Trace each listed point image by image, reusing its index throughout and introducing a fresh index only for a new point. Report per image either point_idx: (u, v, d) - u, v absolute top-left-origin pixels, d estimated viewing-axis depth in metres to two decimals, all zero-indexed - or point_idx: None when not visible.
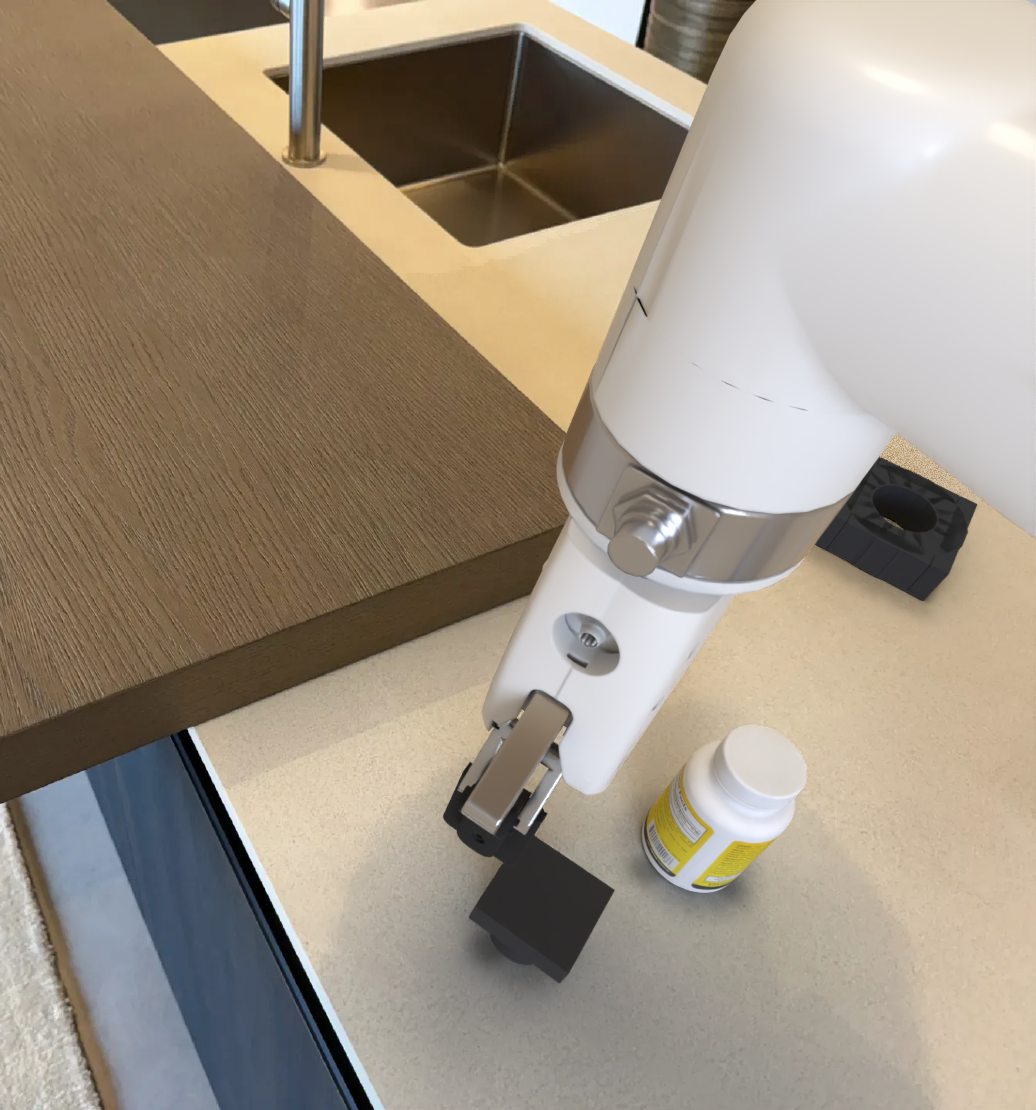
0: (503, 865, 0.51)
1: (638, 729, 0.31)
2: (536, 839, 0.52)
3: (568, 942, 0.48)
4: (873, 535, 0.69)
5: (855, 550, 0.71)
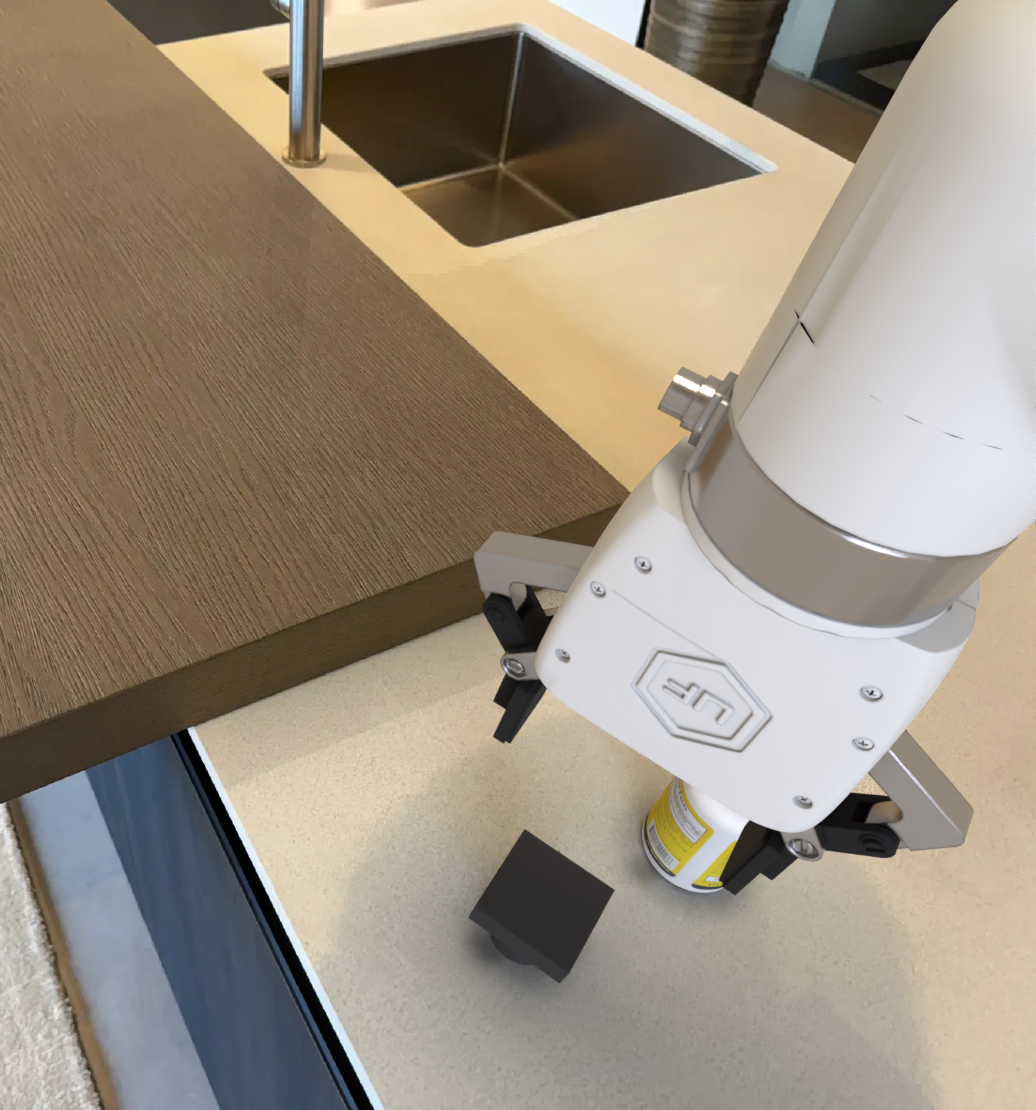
0: (503, 865, 0.51)
1: (575, 600, 0.33)
2: (536, 839, 0.52)
3: (568, 942, 0.48)
4: None
5: None
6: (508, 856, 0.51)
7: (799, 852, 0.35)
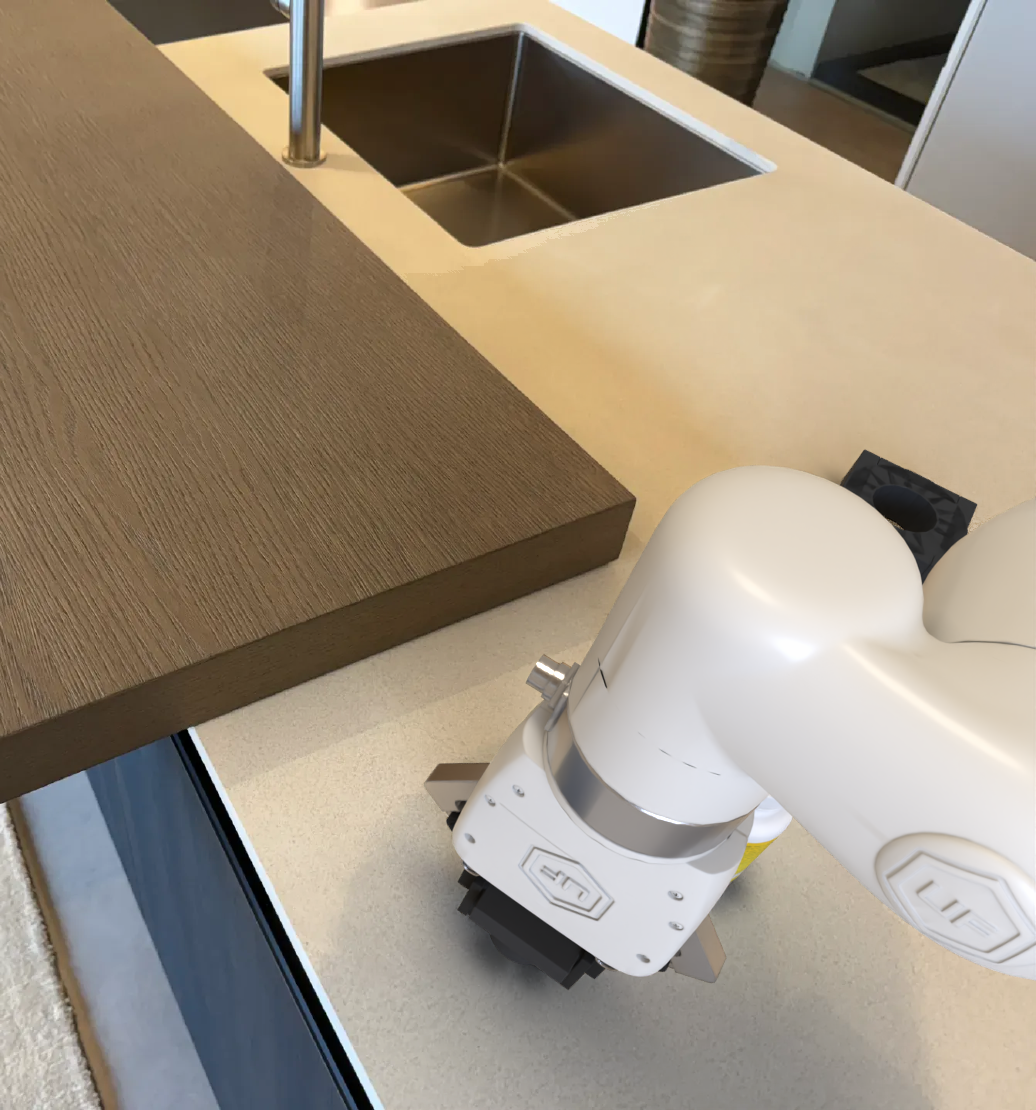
0: None
1: (475, 804, 0.44)
2: None
3: (568, 942, 0.48)
4: None
5: None
6: None
7: (605, 964, 0.48)
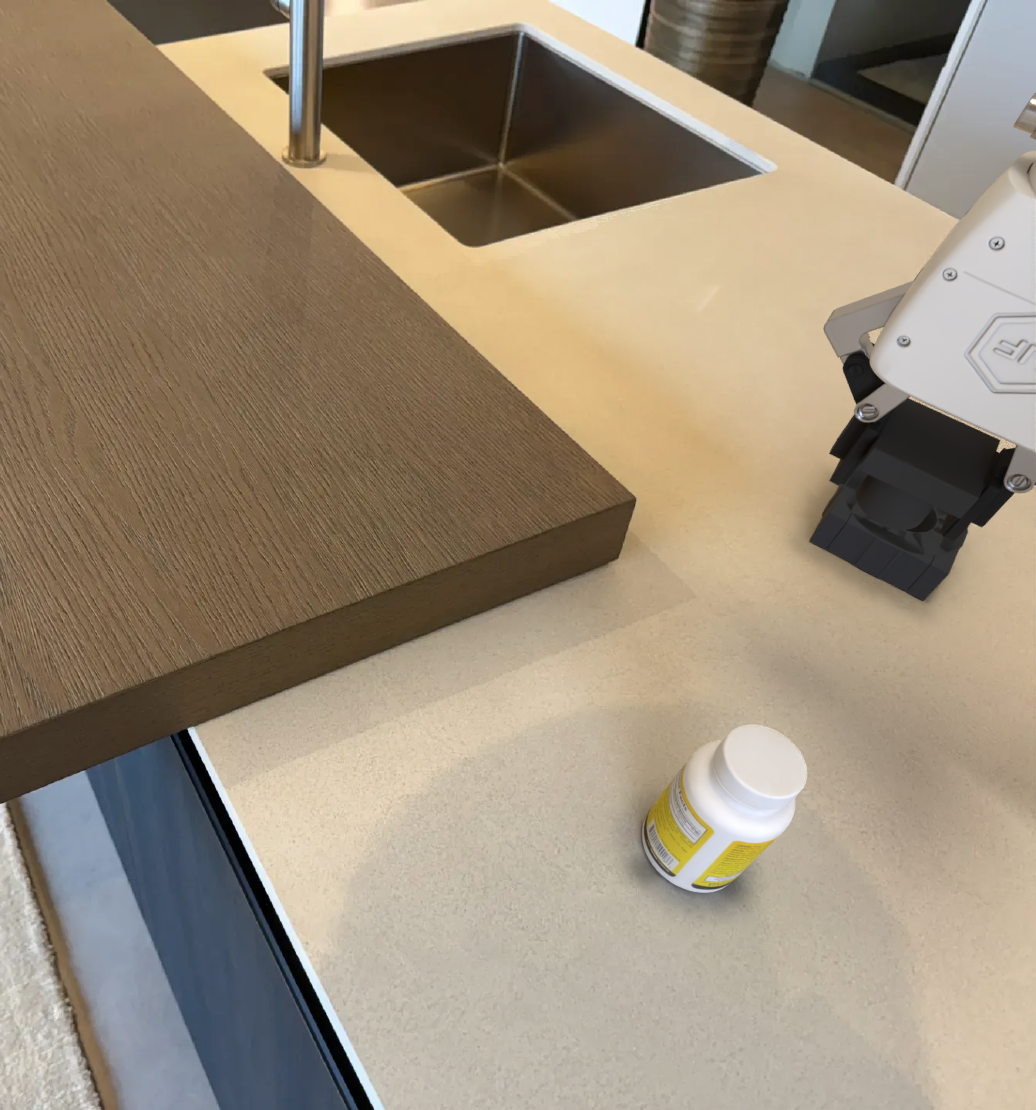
0: (889, 419, 0.51)
1: (925, 289, 0.44)
2: (914, 402, 0.52)
3: (970, 476, 0.49)
4: (873, 535, 0.69)
5: (855, 550, 0.71)
6: None
7: (1014, 488, 0.49)
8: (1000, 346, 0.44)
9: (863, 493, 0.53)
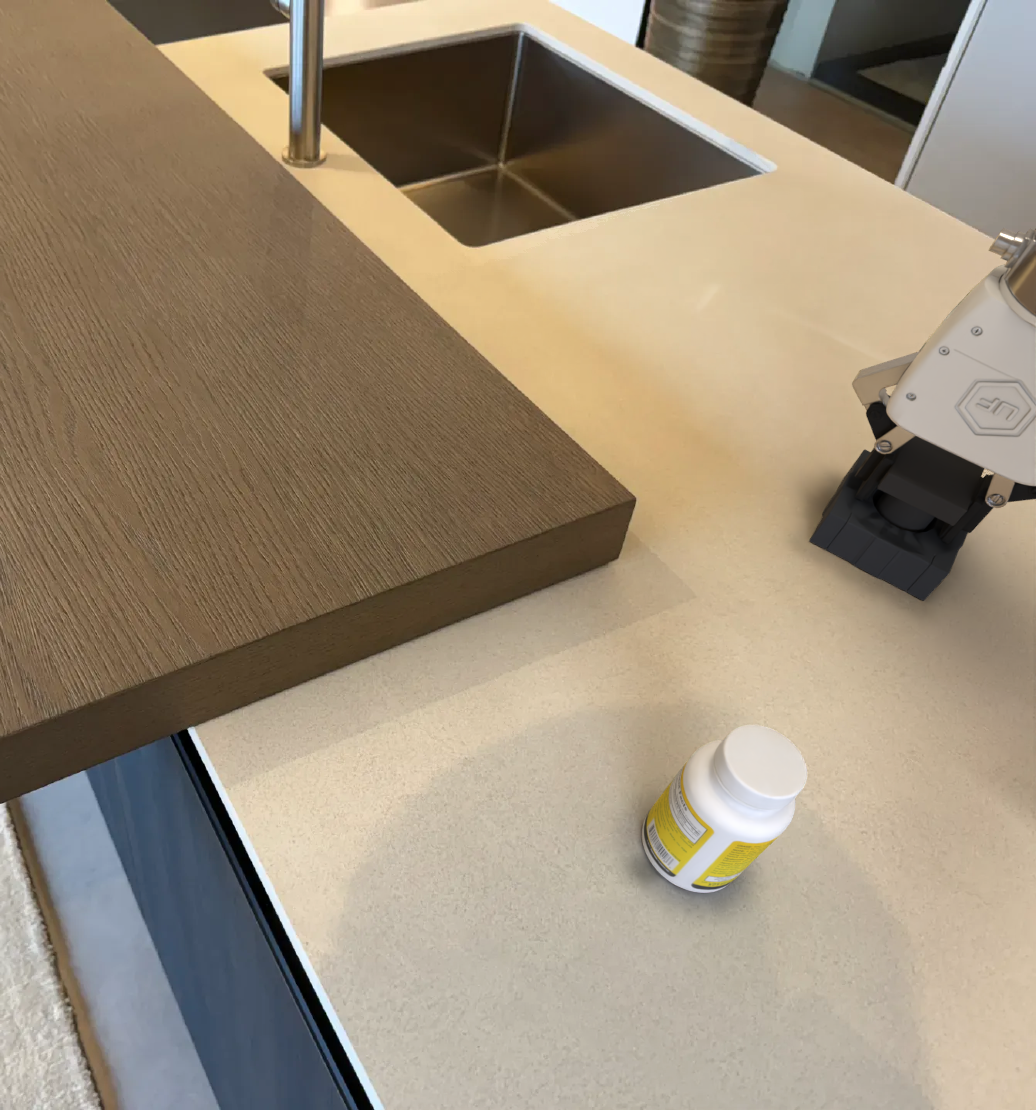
0: (901, 451, 0.69)
1: (926, 360, 0.62)
2: (920, 438, 0.70)
3: (961, 494, 0.67)
4: (873, 535, 0.69)
5: (855, 550, 0.71)
6: (903, 446, 0.69)
7: (992, 504, 0.66)
8: (980, 402, 0.61)
9: (881, 506, 0.71)
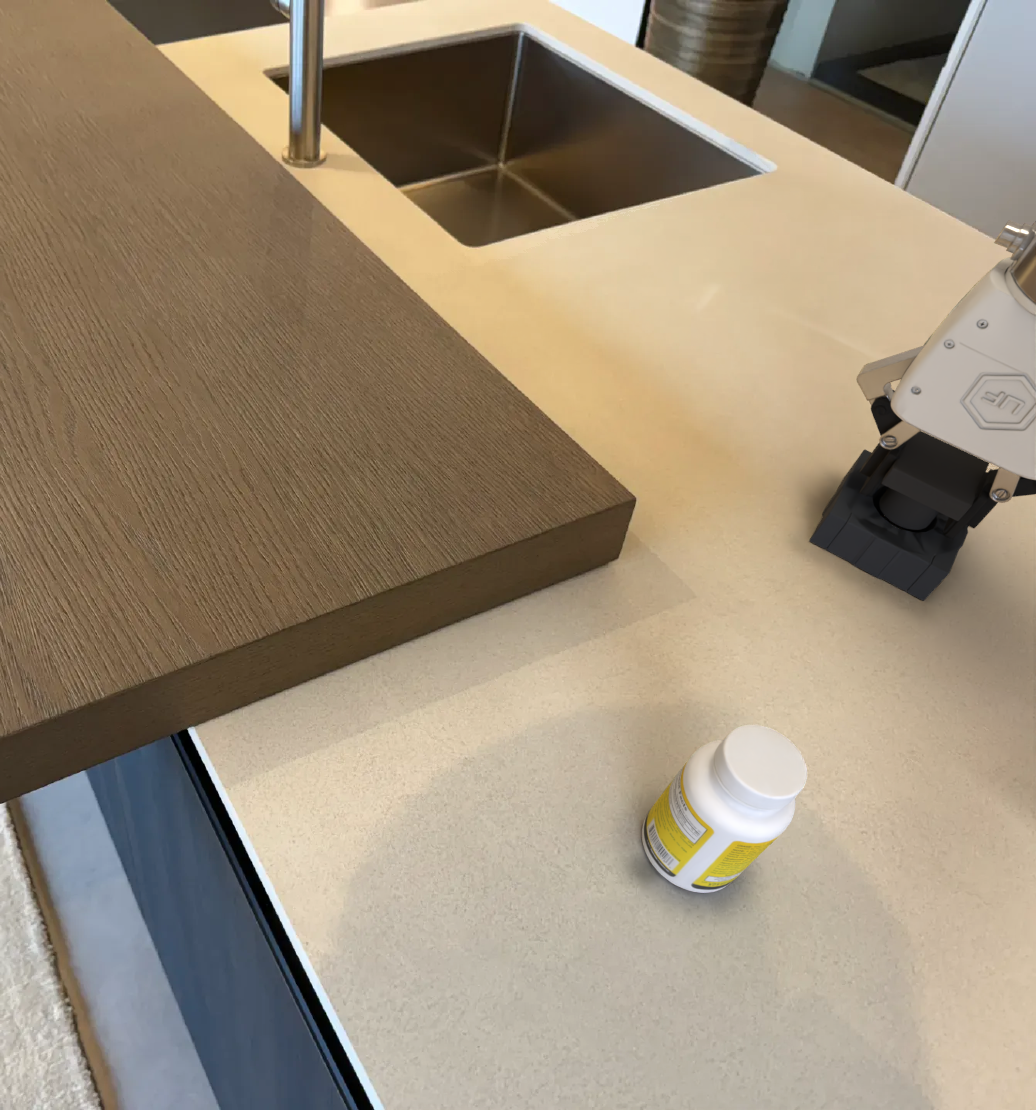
0: None
1: (931, 354, 0.61)
2: (924, 433, 0.69)
3: (965, 489, 0.66)
4: (873, 535, 0.69)
5: (855, 550, 0.71)
6: None
7: (997, 499, 0.65)
8: (985, 396, 0.61)
9: (885, 502, 0.70)
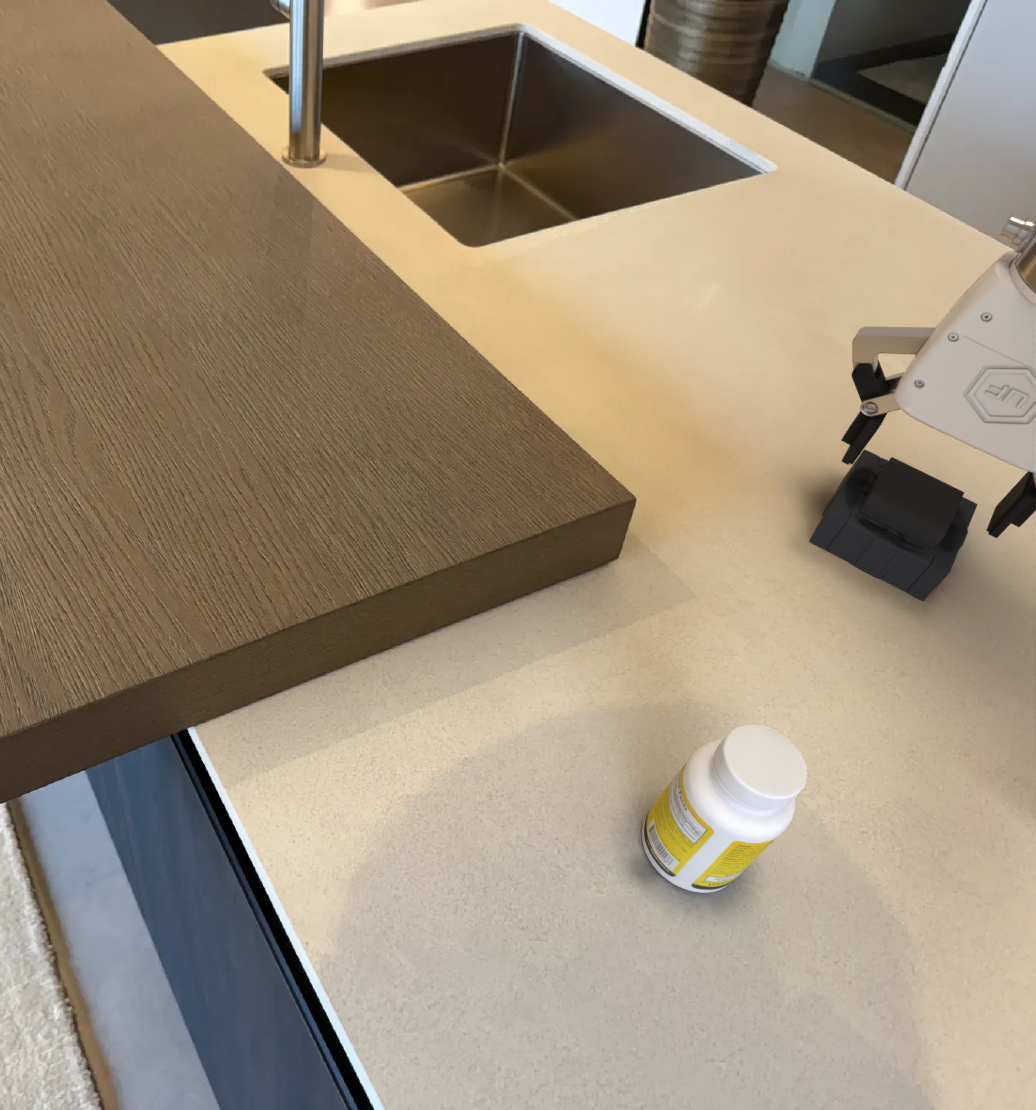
0: (883, 475, 0.71)
1: (935, 347, 0.61)
2: (901, 462, 0.72)
3: (940, 518, 0.68)
4: (873, 535, 0.69)
5: (855, 550, 0.71)
6: (885, 471, 0.71)
7: None
8: (989, 389, 0.60)
9: None
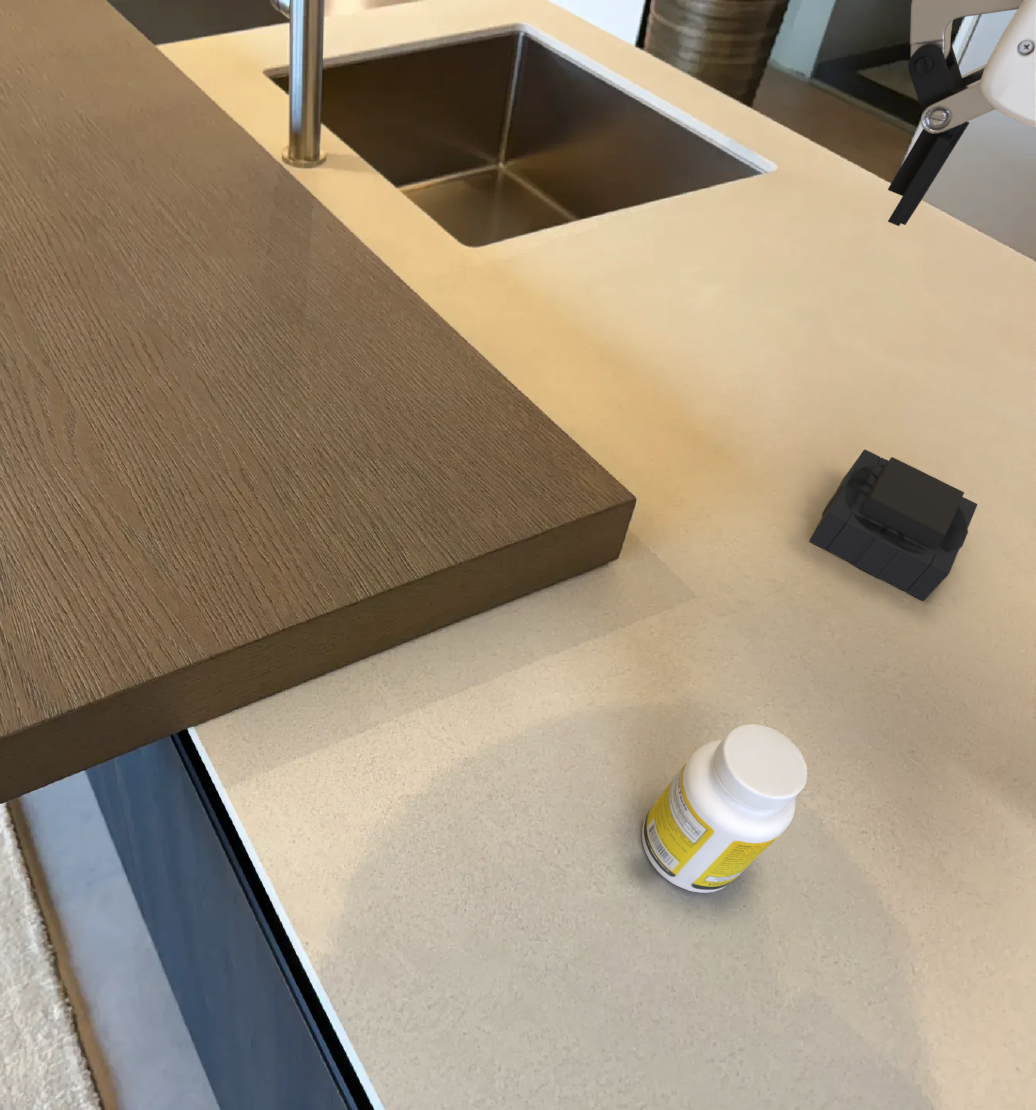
0: (883, 475, 0.71)
1: None
2: (901, 462, 0.72)
3: (940, 518, 0.68)
4: (873, 535, 0.69)
5: (855, 550, 0.71)
6: (885, 471, 0.71)
7: None
8: None
9: None
